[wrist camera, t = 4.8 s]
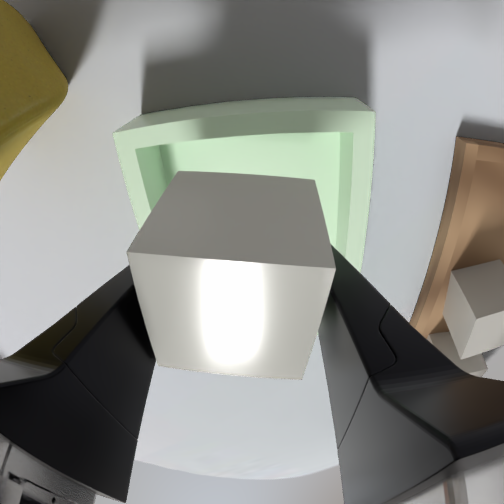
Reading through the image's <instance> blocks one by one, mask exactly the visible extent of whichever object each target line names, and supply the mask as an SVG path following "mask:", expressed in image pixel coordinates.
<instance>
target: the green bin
mask: <svg viewBox="0 0 504 504" xmlns="http://www.w3.org/2000/svg"><path fill="white" fill-rule="evenodd" d="M112 134H113V138H114V142H115V146H116V150H117V154H118V158H119V161H120V165H121V169H122V173H123V176H124V180H125V184H126V187H127V191H128V194H129V197H130V201H131V204H132V208H133V211H134V214H135V217H136V221H137V224H138V227H139V230H140V229H141V227H142V225H143V224H144V222H145V221H146V219H147V217H148V216H149V214H150V213H151V211H152V210H153V208H154V206H155V205H156V203H157V202H158V200H159V199H160V197H161V196H162V194H163V193H164V191H165V190H166V188H167V187H168V185H169V184H170V182H171V181H172V179H173V178H174V176H175V175H176V173H177V172H178V171H199V172H221V173H239V174H255V175H268V176H281V177H292V178H303V179H313V180H315V183H316V187H317V190H318V194H319V198H320V202H321V206H322V210H323V214H324V218H325V222H326V226H327V231H328V235H329V239H330V244H331V245H332V246H333V247H334V248H335V249H337V250H338V251H339V252H340V253H341V254H342V255H343V256H344V257H345V258H346V259H347V260H348V261H349V262H350V263H351V264H352V265H353V266H354V267H355V268H356V269H357V270H358V271H359V272H360V273H361V266H362V260H363V253H364V246H365V238H366V230H367V222H368V213H369V204H370V194H371V183H372V171H373V157H374V139H375V111H374V110H372V109H371V108H370V107H368V106H367V105H365V104H364V103H363V102H361V101H360V100H358V99H357V98H355V97H290V98H268V99H253V100H241V101H230V102H221V103H212V104H204V105H196V106H189V107H182V108H176V109H169V110H164V111H158V112H152V113H147V114H142V115H140V116H138V117H136V118H135V119H133V120H132V121H130V122H129V123H127V124H125V125H124V126H122V127H121V128H119V129H118V130H116V131H115V132H113V133H112ZM317 335H318V332H317Z"/></svg>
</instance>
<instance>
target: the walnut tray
mask: <svg viewBox="0 0 504 504" xmlns="http://www.w3.org/2000/svg"><path fill="white" fill-rule="evenodd" d="M499 259H500V260H501V261H502V263H503V264H504V143H499V142H493V141H486V140H480V139H472V138H465V137H457V136H456V143H455V150H454V157H453V163H452V170H451V175H450V181H449V186H448V191H447V196H446V201H445V206H444V210H443V214H442V219H441V223H440V227H439V231H438V235H437V239H436V243H435V246H434V250H433V253H432V257H431V260H430V264H429V267H428V270H427V274H426V277H425V280H424V283H423V286H422V289H421V292H420V295H419V298H418V301H417V304H416V307H415V310H414V312H413V315H412V318H411V320H410V324H411V325H412V326H413V327H414V328H415V329H416V330H417V331H418V332H419V333H420V334H421V335H423V336H424V337H425V338H426V339H427V338H428V335H429V334H434V333H441V332H448V331H449V328H448V326H447V323H446V321H445V319H444V316H443V314H442V313H443V309H444V305H445V300H446V295H447V290H448V285H449V280H450V275H451V271H453V270H458V269H462V268H466V267H470V266H474V265H479V264H483V263H487V262H491V261H495V260H499Z"/></svg>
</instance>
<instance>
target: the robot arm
mask: <svg viewBox="0 0 504 504" xmlns="http://www.w3.org/2000/svg"><path fill="white" fill-rule="evenodd" d="M331 248H332V252H333V257H334V262H335V266H336V270H335V274H334V278H333V281H332V285H331V289H330V292H329V296H328V299H327V303H326V306H325V309H324V313H323V316H322V319H321V323H320V326H319V329H318V335H319V340H320V345H321V351H322V356H323V362H324V368H325V373H326V379H327V385H328V391H329V397H330V403H331V410H332V416H333V422H334V429H335V436H336V443H337V449H338V458H339V465H340V472H341V480H342V488H343V496H344V504H504V381H500V380H493V379H488V378H482V377H477V376H474V375H471V374H469V373H467V372H465V371H464V370H462V369H461V368H459V367H458V366H457V365H456V364H454V363H453V362H452V361H451V360H450V359H449V358H448V357H446V356H445V355H444V354H443V353H442V352H441V351H440V350H439V349H437V348H436V347H435V346H434V345H433V344H432V343H431V342H429V341H428V340H427V339H426V338H425V337H424V336H423V335H421V334H420V333H419V332H418V331H417V330H416V329H415V328H414V327H413V326H412V325H411V324H410V323H409V322H408V321H407V320H406V319H405V318H404V317H403V316H402V315H401V314H400V313H399V312H398V311H397V310H396V309H395V308H394V307H393V306H392V305H391V306H390V303H389V302H388V301H387V300H386V299H385V298H384V297H383V296H382V295H381V294H380V293H379V292H378V291H377V290H376V289H375V288H374V287H373V285H372V284H371V283H370V282H369V281H368V280H367V279H366V278H365V277H364V276H363V275H362V274H361V273H360V272H359V271H358V270H357V269H356V268H355V267H354V266H353V265H352V264H351V263H350V262H349V261H348V260H347V259H346V258H345V257H344V256H343V255H342V254H341V253H340V252H339V251H338V250H337V249H335V248H334V247H333V246H332V245H331ZM155 362H156V358H155V354H154V351H153V348H152V345H151V342H150V339H149V335H148V332H147V329H146V325H145V322H144V318H143V315H142V311H141V308H140V304H139V300H138V297H137V293H136V289H135V285H134V281H133V277H132V273H131V269H130V265H129V266H127V267H126V268H125V269H123V270H122V271H121V272H119V273H118V274H117V275H115V276H114V277H113V278H112V279H110V280H109V281H108V282H106V283H105V284H104V285H103V286H101V287H100V288H99V289H97V290H96V291H95V292H94V293H92V294H91V295H90V296H89V297H87V298H86V299H85V300H84V301H82V302H81V303H80V304H79V305H77V308H76V307H75V308H74V309H72V310H71V311H70V312H69V313H67V314H66V315H65V316H64V317H62V318H61V319H60V320H59V321H57V322H56V323H55V324H54V325H52V326H51V327H49V328H48V329H47V330H45V331H44V332H43V333H41V334H40V335H39V336H37V337H36V338H34V339H33V340H32V341H30V342H29V343H28V344H26V345H25V346H24V347H22V348H21V349H20V350H18V351H17V352H15V353H14V354H12V355H11V356H9V357H7V358H4V359H0V504H94V503H95V498H96V494H97V495H100V496H103V497H106V498H110V499H113V500H117V501H120V502H123V503H126V500H127V494H128V488H129V483H130V477H131V472H132V466H133V461H134V456H135V451H136V446H137V441H138V440H137V439H138V436H139V431H140V426H141V422H142V417H143V412H144V408H145V404H146V399H147V395H148V391H149V386H150V382H151V378H152V374H153V370H154V366H155Z"/></svg>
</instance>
